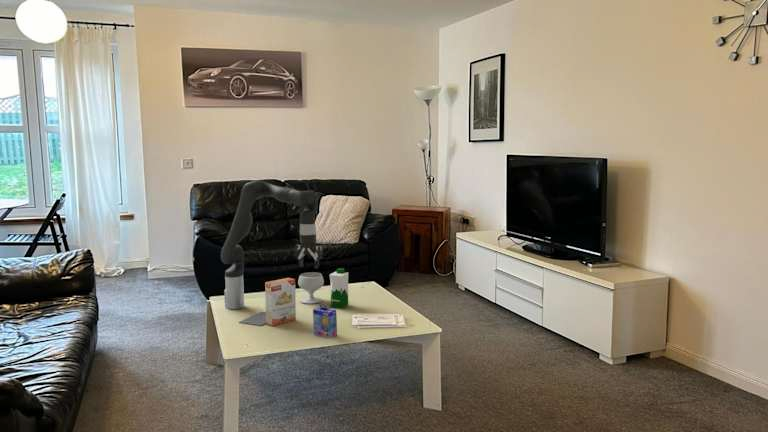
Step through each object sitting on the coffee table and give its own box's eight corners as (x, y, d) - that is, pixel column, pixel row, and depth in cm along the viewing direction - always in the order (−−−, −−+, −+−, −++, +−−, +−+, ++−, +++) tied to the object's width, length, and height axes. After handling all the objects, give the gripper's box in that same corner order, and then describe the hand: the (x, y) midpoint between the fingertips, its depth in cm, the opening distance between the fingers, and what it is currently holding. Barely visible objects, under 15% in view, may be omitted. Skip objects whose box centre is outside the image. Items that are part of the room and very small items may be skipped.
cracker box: (272, 326, 273) (271, 284, 270) (265, 324, 277) (264, 281, 274) (296, 320, 283) (295, 279, 280) (289, 317, 287) (288, 276, 284)
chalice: (329, 300, 318) (328, 273, 316) (313, 306, 306) (312, 278, 304) (309, 296, 325) (309, 270, 323) (293, 302, 313) (292, 275, 311)
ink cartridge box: (312, 334, 261) (312, 304, 259) (320, 331, 266) (319, 301, 264) (330, 338, 256) (329, 307, 254) (337, 335, 261) (337, 304, 259)
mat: (238, 322, 279) (238, 321, 279) (260, 312, 295) (260, 311, 295) (261, 326, 274) (261, 325, 274) (282, 315, 290) (282, 314, 290)
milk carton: (350, 305, 308) (349, 268, 305) (343, 309, 299) (342, 272, 297) (335, 303, 311) (335, 267, 308) (328, 307, 303) (327, 271, 300)
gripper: (290, 233, 268) (291, 267, 270) (317, 235, 262) (318, 270, 264) (299, 231, 274) (300, 264, 276) (325, 232, 269) (326, 266, 271)
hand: (309, 267), depth 270 cm, fingers open, 7 cm apart
